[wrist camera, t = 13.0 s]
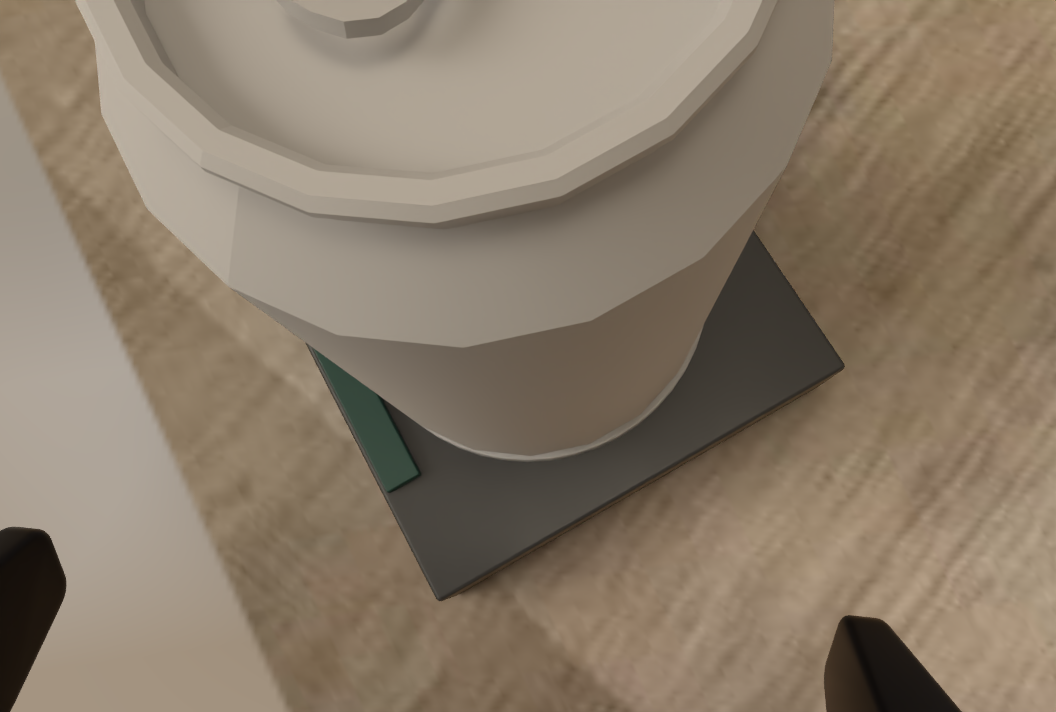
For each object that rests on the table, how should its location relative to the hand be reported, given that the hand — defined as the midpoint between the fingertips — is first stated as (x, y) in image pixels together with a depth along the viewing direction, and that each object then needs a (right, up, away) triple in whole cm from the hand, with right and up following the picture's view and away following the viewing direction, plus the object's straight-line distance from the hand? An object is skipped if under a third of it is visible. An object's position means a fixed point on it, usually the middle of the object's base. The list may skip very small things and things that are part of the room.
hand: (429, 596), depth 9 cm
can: (+1, +4, +9) cm, 10 cm away
